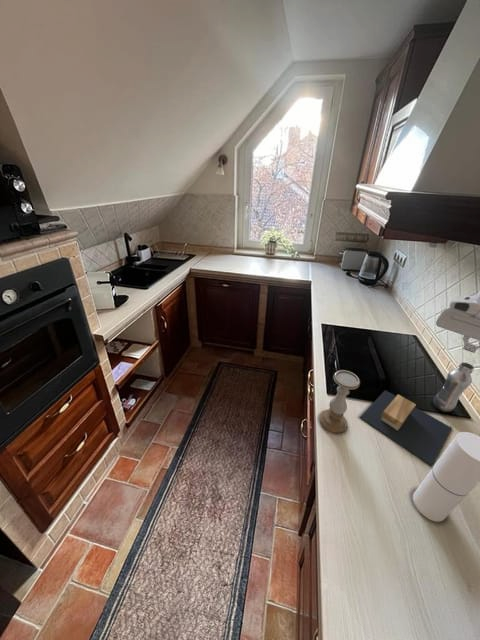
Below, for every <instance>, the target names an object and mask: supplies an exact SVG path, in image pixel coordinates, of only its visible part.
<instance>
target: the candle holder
mask: <svg viewBox="0 0 480 640" xmlns="http://www.w3.org/2000/svg"><path fill="white" fill-rule="evenodd" d="M332 378H333V382H334V383H335V384H336V385H338V386H337V387H336V395H335V396H334V397H333V398H332V399H330V401H329V404H328V405H329V407H328V409H325V410H323V411H321V413H320V415H319V421H320V424H321V425H322V427H323V428H324V429H325V430H327V431H328V432H331V433H332V434H333V433H334V434H340V433H344V432H345V431H346V430H347V427H348V421H347V419H346V418H345V413H346V412H347V410H348V404H347V401H346V400H347V396H348V395H350V390H357V389H358V388H359V387H360V385H361V380H360V378H359V377H358V375H356V374H355V373H354V372H352V371H350V370H345V369H339V370H337V371H336V372H334V374H333V377H332Z"/></svg>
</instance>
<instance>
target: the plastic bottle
mask: <svg viewBox="0 0 480 640" xmlns="http://www.w3.org/2000/svg"><path fill="white" fill-rule="evenodd" d="M474 370H475V366H473V364H471V363H469V362H465V361H464V362H460V364H459V365H457V368H455V369H451V370H450V371H449V372H448V373H447V376H446V379H445V382H444V384H443V386H442V387H441V389H440V390H439V391H438V393H436V394H435V396H434V397H433V400H432V403H433V406H434V407H435V408H436V409H437V410H439V411H441V412H443V413H450V412H452V411H454V410H455V409H456V407H457V404H458V401H459V399H460V397H461V395H463V393H464V391H466V390H467V389H468V388H469V386H471V384H472V382H473V378H472V375H471V374H473V371H474Z"/></svg>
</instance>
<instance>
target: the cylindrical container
mask: <svg viewBox="0 0 480 640" xmlns="http://www.w3.org/2000/svg"><path fill="white" fill-rule="evenodd" d="M479 483H480V435H478V434H476V433H473V432H469V431H459V432H458V433H457V434H456V435H455V436H454V438H453V439H452V441H451V442H450V443H449V445H448V446H447V448H446V449H445V450H444V451H443V453H442V454H441V455H440V457H439V458H438V460H437V461H436V462H435V464H433V465H432V467H431V469H430V470H429V472H428V473H427V475H426V476H425V477H424V478H423V480H421V483H420V484H419V485H418V487H417V488H416V490H415V491H414V492H413V494H412V500H413V504H414V506H415V507H416V509H417V511H419V513H420V514H421V515H423V516H424V517H426V519H428V520H430V521H433V522H438V523H439V522H443V521H444V520H445V519H446V518H447V517H448V516H449V515H450V514H451V513H452V512H453V511H454V509H455V508H456V507H457V506H458V505H459V504H460V503H461V502H462V501H463V500H464V499H465V498H466V497H467V495H469V494H470V493H471V492H472V491H473V489H474V488H475V487H477V485H478V484H479Z"/></svg>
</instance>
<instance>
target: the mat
mask: <svg viewBox="0 0 480 640" xmlns="http://www.w3.org/2000/svg"><path fill="white" fill-rule="evenodd" d="M396 396H397V395H395V394H393V393H391V392H389V391H388V390H387V389H385V390H384V391H383V392H382V393H381V394H380V395H379V396H378V397H377V398H376V399H375V400H374V402H372V404H370V405H369V407H367V409H366V410H365V411H364V412H363V413H362V414H361V415H360V417H359V418H360V419H361V420H362V421H364V422H366V423H367V424H369V425H370V426H371V427H373V428H374V429H376V430H377V431H379V432H380V433H382V434H383V435H385V436H386V437H387V438H388V439H390V440H392V441H393V442H395V443H396V444H397V445H399V446H400V447H402V448H404V449H405V450H406V451H408V452H409V453H411V454H413V455H414V456H415V457H417V458H418V459H420V460H421V461H422V462H424V463H425V464H427V465H428V466H429V467H433V465H434V462H435V460H436V459H437V456H438V455H439V453H440V451H441V449H442V447H443V445H444V443H445V442H446V440H447V437H448V436H449V433H450V431H451V430H452V427H450V426H449V425H447V424H445V423H443V421H441V420H439V419H437V418H435V417H433V416H432V415H430V414H428V413H427V412H425V411H423V410H421V409H419V408H418V407H416V406H415V408H414V409H413V411H412V412H411V413H410V415H409V416H408V418H407V419H406V420H405V422H404V423H403V424H402V426H401V427H400V428H399V430H398V431H397V430H396V429H394V428H393V427H391V426H390V425H388V424H387V423H385V422H384V421H382V420H381V418H382V414H383V411H384V410H385V409H386V408H387V407H388V405H389V404H390V403H391V402H392V401H393V400H394V398H395V397H396Z"/></svg>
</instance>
